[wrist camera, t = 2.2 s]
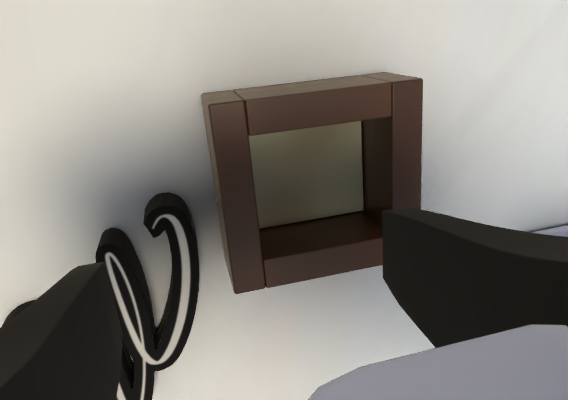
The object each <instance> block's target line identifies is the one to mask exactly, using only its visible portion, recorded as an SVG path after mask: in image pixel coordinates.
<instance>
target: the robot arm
mask: <svg viewBox="0 0 568 400" xmlns="http://www.w3.org/2000/svg"><path fill="white" fill-rule="evenodd" d="M382 243H383V279H384V280H385V282H386V284H387V285H388V287H389V289H390V290H391V292H392V294H393V295H394V297H395V298H396V300H397V302H398V303H399V305H400V306H401V307H402V308H403V310H404V311H405V312H406V313H407V315H408V316H409V317H410V318H411V319H412V321H413V322H414V323H415V324H416V325H417V326H418V328H419V329H420V330H421V331H422V332H423V333H424V335H425V336H426V337H427V338H428V339H429V340H430V342H431V343H432V344H433V345H434V346H435V347H436V348H435V349H431V350H427V351H422V352H418V353H414V354H410V355H406V356H402V357H398V358H394V359H390V360H386V361H382V362H378V363H374V364H370V365H366V366H362V367H359V368H357V369H355V370H353V371H351V372H349V373H347V374H345V375H343V376H340V377H338V378H336V379H334V380H332V381H330V382H328V383H326V384H324V385H322V386H320V387H318V388H317V390H316V391H315V392H314V393H313V394H312V395H311V397H310V398H309V399H308V400H568V225H566V226H561V227H556V228H551V229H546V230H541V231H536V232H531V233H530V232H523V231H517V230H511V229H506V228H500V227H495V226H490V225H485V224H481V223H476V222H472V221H468V220H463V219H459V218H455V217H451V216H447V215H443V214H438V213H434V212H430V211H425V210H420V209H415V208H405V207H402V208H397V209H391V210H386V211H382ZM121 365H122V329H121V325H120V321H119V317H118V313H117V309H116V306H115V302H114V298H113V294H112V290H111V286H110V282H109V278H108V274H107V270H106V266H105V262H99V263H94V264H88V265H83V266H78V267H76V268H75V269H73V270H72V271H70V272H69V273H68V274H67V275H65V276H64V277H63V278H62V279H61V280H59V281H58V282H57V283H56V284H55V285H53V286H52V287H51V288H50V289H49V290H48V291H46V292H45V293H44V294H43V295H42V296H40V297H39V298H38V299H37V300H36V301H35V302H33V303H32V304H31V305H30V306H28V307H27V308H26V309H25V310H23V311H22V312H21V313H19V314H18V315H17V316H15V317H14V318H13V319H12V320H10V321H9V322H8V323H6V324H5V325H4V326H2V327H1V328H0V400H116V396H117V391H118V385H119V379H120V373H121Z"/></svg>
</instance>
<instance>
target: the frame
mask: <svg viewBox="0 0 568 400" xmlns="http://www.w3.org/2000/svg"><path fill="white" fill-rule="evenodd" d="M422 97H423V80H422V79H421V78H417V77H411V76H405V75H399V74H392V73H386V72H383V73H375V74H366V75H361V76H358V75H357V76H348V77H340V78H331V79H322V80H314V81H305V82H297V83H288V84H280V85H271V86H263V87H254V88H245V89H237V90H233V91H231V90H229V91H221V92H212V93H203V94H202V95H201V98H202V104H203V111H204V118H205V125H206V132H207V139H208V146H209V153H210V159H211V166H212V173H213V180H214V187H215V194H216V201H217V207H218V214H219V221H220V228H221V235H222V242H223V249H224V256H225V261H226V264H227V268H228V272H229V275H230V279H231V283H232V286H233V290H234V293H235V294H239V293H244V292H249V291H254V290H258V289H263V288H265V287H267V288H270V287H275V286H280V285H285V284H290V283H295V282H300V281H305V280H310V279H315V278H320V277H325V276H329V275H334V274H339V273H344V272H349V271H354V270H359V269H364V268H369V267H374V266H379V265H383V243H382V211H386V210H391V209H397V208H402V207H405V208H415V209H420V210H421V153H422Z"/></svg>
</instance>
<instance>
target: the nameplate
mask: <svg viewBox="0 0 568 400" xmlns="http://www.w3.org/2000/svg"><path fill="white" fill-rule="evenodd" d="M144 225H145V226H146V227H147V229H148V230H149V232H150V233H151V235H152V236H153V238H154V237H157V236H159V235H160V234H161V233H162V232H163V231H166V233H167V235H168V239H169V243H170V249H171V254H172V275H171V283H170V289H169V294H168V299H167V303H166V307H165V311H164V314H163V318H162V320H161V322H160V324H159V326H158V327H157V328H156V327H155V325H154V318H153V312H152V306H151V300H150V295H149V291H148V287H147V283H146V279H145V276H144V273H143V270H142V267H141V264H140V262H139V260H138V257H137V255H136V252H135V250H134V247H133V245H132V243H131V241H130V240H129V238H128V237H127V235H126V234H125V233H124V232H123V231H121V230H120V229H117V228H110V229H107V230H105V231H104V232H103V233H102V236H101V238H100V242H99V245H98V248H97V251H96V263H99V262H105V266H106V270H107V274H108V278H109V282H110V286H111V290H112V294H113V298H114V302H115V306H116V309H117V313H118V317H119V321H120V325H121V329H122V365H121V373H120V379H119V385H118V391H117V396H116V400H152V395H153V386H154V372H155V371H160V370H163V369H165V368H167V367H169V366H171V365H172V364H173V363H174V362H175V361H176V360H177V359H178V357H179V356H180V354H181V352H182V350H183V348H184V346H185V344H186V342H187V339H188V336H189V334H190V331H191V327H192V324H193V320H194V315H195V310H196V304H197V297H198V291H199V259H198V249H197V241H196V235H195V228H194V224H193V221H192V217H191V214H190V212H189V209H188V207H187V205H186V203H185V202H184V201H183V199H182V198H181V197H179V196H178V195H176V194H173V193H160V194H157V195H155V196H154V197H153V198H152V199H151V200H150V201H149V202H148V204H147V206H146V208H145V214H144ZM35 301H36V300H34V301H31V302H28V303H25V304H22V305H20V306H18V307H17V308H16V309H14V310H13V311H12V312H11V313H10V314H9V315H8V317H7V318H6V320H5V322H4V323H3V325H2V326H4V325H5V324H6V323H8V322H9V321H10V320H12V319H13V318H14V317H15V316H17V315H18V314H19V313H21V312H22V311H23V310H25V309H26V308H27V307H28V306H30V305H31V304H32V303H33V302H35ZM128 351H129V352H128ZM129 353H130V355H131V357H132V358H133V359H134V365H133V363H132V360H131V358H130V355H129Z"/></svg>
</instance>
